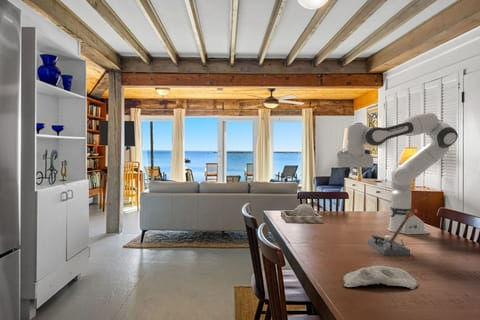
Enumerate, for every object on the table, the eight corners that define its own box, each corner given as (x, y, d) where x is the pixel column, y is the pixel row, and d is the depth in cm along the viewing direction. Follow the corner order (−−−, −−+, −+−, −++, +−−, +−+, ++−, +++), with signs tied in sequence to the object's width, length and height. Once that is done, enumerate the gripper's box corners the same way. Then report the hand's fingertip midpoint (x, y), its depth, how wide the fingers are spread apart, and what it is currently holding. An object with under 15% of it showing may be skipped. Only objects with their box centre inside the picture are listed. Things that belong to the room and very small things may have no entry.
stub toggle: (402, 248, 167) (399, 240, 168) (403, 247, 169) (400, 239, 170) (405, 248, 167) (402, 239, 167) (406, 247, 169) (403, 238, 169)
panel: (391, 244, 186) (391, 234, 186) (410, 255, 166) (410, 244, 166) (367, 244, 186) (368, 234, 186) (384, 255, 166) (384, 244, 166)
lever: (384, 244, 171) (407, 209, 166) (386, 242, 175) (408, 208, 169) (390, 248, 170) (414, 213, 164) (392, 246, 173) (415, 212, 168)
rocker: (381, 239, 184) (381, 236, 184) (383, 241, 180) (384, 238, 180) (371, 237, 183) (372, 234, 183) (374, 238, 180) (374, 236, 180)
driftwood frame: (313, 216, 266) (313, 210, 266) (322, 222, 241) (322, 216, 241) (280, 215, 265) (280, 210, 265) (285, 222, 241) (285, 216, 241)
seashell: (303, 226, 262) (291, 209, 264) (319, 216, 259) (307, 198, 261) (302, 230, 247) (289, 212, 249) (319, 219, 245) (306, 201, 247)
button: (389, 240, 183) (390, 235, 183) (392, 241, 180) (392, 237, 180) (383, 240, 183) (383, 235, 183) (386, 241, 180) (386, 236, 180)
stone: (406, 266, 139) (427, 281, 124) (403, 284, 139) (423, 302, 124) (336, 256, 138) (348, 269, 123) (333, 274, 139) (344, 290, 124)
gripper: (338, 150, 203) (338, 175, 204) (374, 151, 204) (374, 175, 204) (335, 151, 210) (335, 174, 210) (370, 151, 210) (370, 175, 211)
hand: (354, 175), depth 207 cm, fingers closed
